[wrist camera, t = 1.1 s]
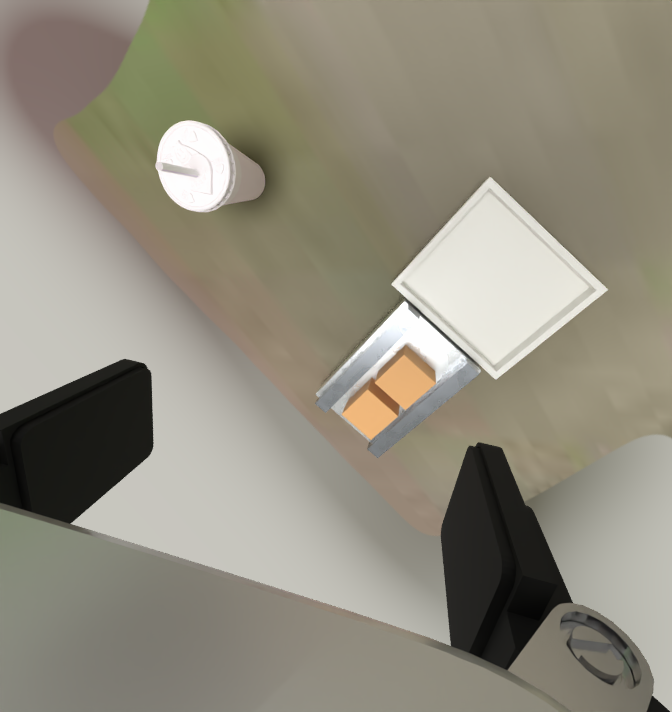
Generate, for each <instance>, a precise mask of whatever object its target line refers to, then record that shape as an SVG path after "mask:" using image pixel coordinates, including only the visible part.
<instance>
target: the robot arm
mask: <svg viewBox="0 0 672 712" xmlns="http://www.w3.org/2000/svg"><path fill="white" fill-rule="evenodd" d="M151 381H152V380H151V372H150V370H148V369H147V366H146V365H145V364H144V363H140V362H136V361H132V360H127V359H123V360H120V361H118V362H116V363H114V364H111V365H109V366H107V367H105V368H102V369H100V370H98V371H96V372H93V373H91V374H89V375H87V376H84V377H82V378H80V379H78V380H75V381H73V382H71V383H69V384H66V385H64V386H62V387H60V388H57V389H55V390H53V391H51V392H48V393H46V394H44V395H42V396H39V397H37V398H35V399H33V400H30V401H28V402H26V403H24V404H22V405H19V406H17V407H15V408H13V409H10V410H8V411H6V412H4V413H1V414H0V712H670V711H669V710H668V709H667V708H665V707H664V706H663V705H662V704H661V703H660V702H659V701H658V700H657V699H655V698H654V697H653V696H652V694H653V684H654V679H653V676H652V673H651V670H650V667H649V665H648V663H647V661H646V659H645V658H644V656H643V655H642V653H641V652H640V650H639V648H638V647H637V646H636V645H635V644H634V643H633V642H632V640H631V639H630V638H629V637H628V636H627V634H625V633H624V632H623V631H622V630H621V629H619V627H617V626H616V625H615V624H614V623H613V622H612V621H610V620H609V619H607V618H605V617H604V616H603V615H601V614H600V613H598V612H596V611H594V610H592V609H590V608H587V607H585V606H583V605H578V604H574V603H573V602H572V600H571V597H570V595H569V593H568V590H567V588H566V586H565V583H564V582H563V579H562V576H561V574H560V572H559V569H558V567H557V565H556V562H555V560H554V558H553V555H552V553H551V551H550V549H549V546H548V544H547V542H546V539H545V537H544V535H543V532H542V530H541V528H540V525H539V523H538V521H537V518H536V516H535V514H534V512H533V510H532V509H531V508H530V507H529V506H526V505H525V503H524V501H523V498H522V496H521V494H520V491H519V489H518V486H517V484H516V481H515V479H514V476H513V474H512V472H511V469H510V467H509V464H508V462H507V459H506V457H505V454H504V452H503V450H502V448H501V447H497V446H492V445H488V444H484V443H480V442H479V443H477V444H476V446H475V447H473V446H469V447H468V449H467V451H466V454H465V457H464V460H463V463H462V466H461V469H460V472H459V475H458V478H457V481H456V484H455V487H454V490H453V493H452V496H451V499H450V502H449V505H448V508H447V511H446V514H445V517H444V520H443V524H442V529H441V543H442V553H443V564H444V575H445V585H446V597H447V608H448V618H449V629H450V640H451V646H449V645H446V644H444V643H441V642H439V641H436V640H433V639H431V638H428V637H425V636H422V635H419V634H416V633H413V632H410V631H407V630H404V629H401V628H398V627H396V626H392V625H390V624H387V623H383V622H381V621H378V620H374V619H372V618H369V617H366V616H363V615H360V614H357V613H354V612H351V611H348V610H345V609H341V608H338V607H335V606H332V605H329V604H326V603H322V602H319V601H316V600H313V599H310V598H307V597H304V596H300V595H297V594H294V593H291V592H288V591H285V590H281V589H278V588H275V587H272V586H269V585H266V584H263V583H259V582H256V581H253V580H249V579H246V578H243V577H240V576H237V575H234V574H231V573H228V572H224V571H221V570H218V569H215V568H212V567H208V566H205V565H202V564H199V563H195V562H192V561H189V560H186V559H183V558H179V557H176V556H173V555H170V554H167V553H163V552H160V551H156V550H154V549H150V548H147V547H144V546H140V545H137V544H134V543H131V542H127V541H124V540H121V539H118V538H114V537H111V536H108V535H105V534H101V533H98V532H95V531H92V530H88V529H85V528H82V527H78V526H75V525H72V524H70V523H72V522H73V521H74V520H75V519H76V518H78V517H79V516H80V515H81V514H82V513H83V512H85V510H87V509H88V508H89V507H90V506H92V505H93V504H94V503H95V502H96V501H97V500H98V499H100V498H101V497H102V496H103V495H104V494H106V492H108V491H109V490H110V489H111V488H112V487H114V486H115V485H116V484H117V483H118V482H120V481H121V480H122V479H123V478H124V477H125V476H126V475H128V474H129V473H130V472H131V471H132V470H133V469H135V468H136V467H137V466H138V465H139V464H140V463H141V462H143V461H144V460H145V459H146V458H147V457H148V456H149V455H150V454H151V452H152V449H153V418H152V417H153V414H152V382H151Z"/></svg>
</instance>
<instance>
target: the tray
mask: <svg viewBox="0 0 672 712" xmlns="http://www.w3.org/2000/svg"><path fill="white" fill-rule="evenodd" d="M392 285H393V286H394V287H395V288H396V289H397V290H398V291H399V292H400V293H401V294H402V295H404V296H405V297H406V298H407V299H408V300H409V301H410V302H411V303H412V304H413V305H415V306H416V307H417V308H418V309H419V310H420V311H421V312H422V313H423V314H424V315H425V316H427V317H428V318H429V319H430V320H431V321H432V322H433V323H434V324H435V325H436V326H438V327H439V328H440V329H441V330H442V331H443V332H444V333H445V334H446V335H447V336H448V337H450V338H451V339H452V340H453V341H454V342H455V343H456V344H457V345H458V346H459V347H460V348H462V349H463V350H464V351H465V352H466V353H467V354H468V355H469V356H470V357H471V358H473V359H474V360H475V361H476V362H477V363H478V364H479V365H480V366H481V367H482V368H483V369H485V370H486V371H487V372H488V373H489V374H490V375H491V376H492V377H493V378H494V379H497V378H499V377H500V376H501V375H502V374H504V373H505V372H506V371H507V370H509V369H510V368H511V367H512V366H514V365H515V364H516V363H517V362H518V361H520V360H521V359H522V358H523V357H525V356H526V355H527V354H528V353H530V352H531V351H532V350H533V349H535V348H536V347H537V346H538V345H540V344H541V343H542V342H543V341H545V340H546V339H547V338H548V337H550V336H551V335H552V334H553V333H555V332H556V331H557V330H558V329H560V328H561V327H562V326H563V325H565V324H566V323H567V322H568V321H570V320H571V319H572V318H573V317H575V316H576V315H577V314H578V313H580V312H581V311H582V310H583V309H585V308H586V307H587V306H588V305H590V304H591V303H592V302H593V301H595V300H596V299H597V298H598V297H600V296H601V295H602V294H603V293H605V292H606V291H607V290H608V289H607V288H606V287H605V286H604V285H603V284H602V283H601V282H600V281H598V280H597V279H596V278H595V277H594V276H593V275H592V274H591V273H590V272H589V271H588V270H587V269H586V268H585V267H584V266H583V265H582V264H581V263H580V262H579V261H578V260H577V259H576V258H574V257H573V256H572V255H571V254H570V253H569V252H568V251H567V250H566V249H565V248H564V247H563V246H562V245H561V244H560V243H559V242H558V241H557V240H556V239H555V238H554V237H553V236H552V235H550V234H549V233H548V232H547V231H546V230H545V229H544V228H543V227H542V226H541V225H540V224H539V223H538V222H537V221H536V220H535V219H534V218H533V217H532V216H531V215H530V214H529V213H528V212H526V211H525V210H524V209H523V208H522V207H521V206H520V205H519V204H518V203H517V202H516V201H515V200H514V199H513V198H512V197H511V196H510V195H509V194H508V193H507V192H506V191H505V190H503V189H502V188H501V187H500V186H499V185H498V184H497V183H496V182H495V181H494V180H493V179H492V178H491V177H489V178H488V179H486V180H485V181H484V182H483V184H482V185H481V186H480V187H479V188H478V189H477V190H476V191H475V192H474V193H473V195H472V196H471V197H470V198H469V199H468V200H467V201H466V202H465V203H464V204H463V205H462V207H461V208H460V209H459V210H458V211H457V212H456V213H455V214H454V215H453V216H452V217H451V219H450V220H449V221H448V222H447V223H446V224H445V225H444V226H443V227H442V228H441V229H440V231H439V232H438V233H437V234H436V235H435V236H434V237H433V238H432V239H431V240H430V241H429V243H428V244H427V245H426V246H425V247H424V248H423V249H422V250H421V251H420V252H419V253H418V255H417V256H416V257H415V258H414V259H413V260H412V261H411V262H410V263H409V264H408V265H407V267H406V268H405V269H404V270H403V271H402V272H401V273H400V274H399V275H398V276H397V278H396V279H395V280H394V281H393V282H392Z"/></svg>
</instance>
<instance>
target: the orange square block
mask: <svg viewBox="0 0 672 712" xmlns="http://www.w3.org/2000/svg"><path fill="white" fill-rule="evenodd" d="M375 384H376V385H378V386H379V387H380V388H381V389H382V390H383V391H384V392H385V393H387V394H388V395H389V396H390V397H391V398H392V399H393V400H395V401H396V402H397V403H398V404H399V405H400V406H401V407H402V408H404V409H405V410H406V409H407V408H408V407H410V406H411V405H412V404H413V403H414V402H415V401H417V400H418V399H419V398H420V397H421V396H422V395H423V394H425V393H426V392H427V391H428V390H429V389H430V388H431V387H433V386H434V385H435V384H436V375H435V371H434V370H433V369H432V368H431V367H430V366H429V365H428V364H427V363H426V362H424V361H423V360H422V359H421V358H420V357H419V356H418V355H417V354H416V353H415V352H413V351H412V350H411V349H410V348H409V347H408V346H407V345H405V346H404V347H402V348H401V349H400V350H399V351H398V352H397V353H396V354H395V355H394V356H393V357H392V358H391V359H390V360H389V361H388V362H387V363H386V364H385V365H384V366H383V367H382V368H381V369H380V370H379V371H378V374H377V377H376V380H375Z"/></svg>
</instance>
